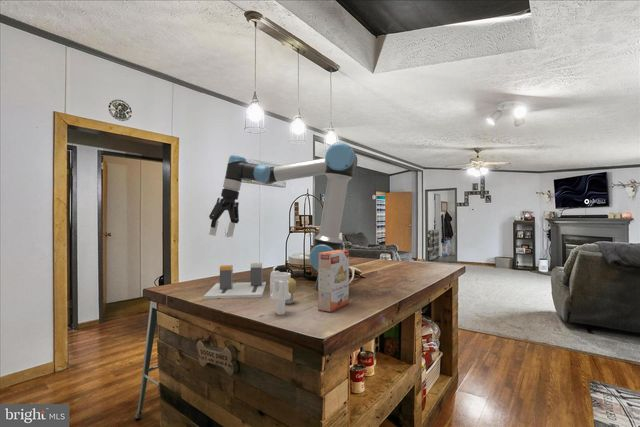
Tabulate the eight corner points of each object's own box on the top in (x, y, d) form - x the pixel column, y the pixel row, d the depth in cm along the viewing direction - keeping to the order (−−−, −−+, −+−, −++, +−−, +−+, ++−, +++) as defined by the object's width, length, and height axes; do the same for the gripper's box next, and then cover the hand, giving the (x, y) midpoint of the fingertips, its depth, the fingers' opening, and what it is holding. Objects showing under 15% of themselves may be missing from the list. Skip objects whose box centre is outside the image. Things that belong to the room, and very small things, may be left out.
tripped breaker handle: (231, 288, 149) (231, 266, 149) (219, 289, 148) (219, 266, 148) (232, 286, 153) (232, 265, 153) (221, 287, 152) (221, 265, 152)
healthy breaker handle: (261, 285, 156) (261, 264, 156) (250, 285, 155) (250, 264, 155) (262, 283, 160) (262, 262, 160) (251, 283, 159) (251, 263, 159)
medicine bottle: (289, 291, 149) (289, 265, 149) (286, 295, 142) (286, 267, 142) (273, 291, 150) (273, 264, 150) (269, 295, 143) (269, 267, 143)
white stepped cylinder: (266, 312, 117) (266, 270, 117) (284, 309, 121) (283, 268, 121) (277, 317, 112) (276, 273, 112) (294, 313, 116) (294, 270, 116)
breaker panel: (262, 297, 139) (262, 294, 139) (203, 299, 137) (203, 295, 137) (266, 284, 165) (266, 281, 165) (216, 285, 163) (216, 282, 163)
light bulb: (278, 305, 127) (278, 279, 127) (282, 300, 133) (282, 275, 133) (294, 305, 126) (294, 279, 126) (298, 301, 133) (298, 276, 133)
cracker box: (331, 313, 117) (331, 253, 117) (317, 310, 120) (317, 252, 120) (350, 303, 128) (349, 249, 128) (336, 301, 132) (336, 249, 132)
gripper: (238, 192, 164) (229, 235, 163) (207, 183, 140) (196, 233, 139) (251, 195, 161) (242, 238, 160) (222, 186, 137) (211, 236, 137)
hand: (221, 235), depth 150 cm, fingers open, 13 cm apart
